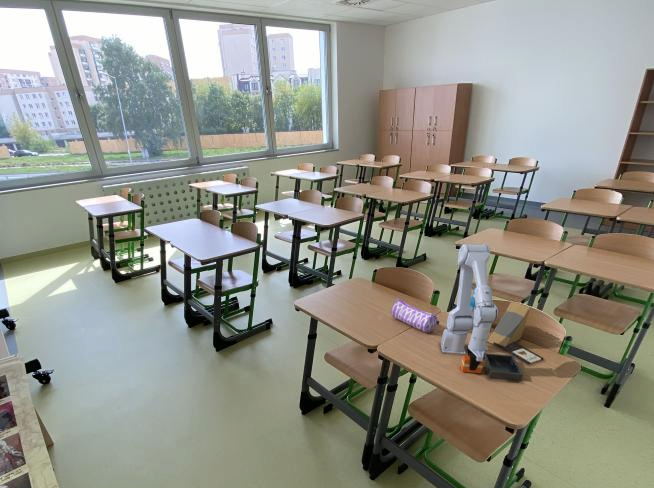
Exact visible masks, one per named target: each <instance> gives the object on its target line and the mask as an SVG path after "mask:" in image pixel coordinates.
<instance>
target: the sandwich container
mask: <svg viewBox="0 0 654 488" xmlns="http://www.w3.org/2000/svg"><path fill="white" fill-rule="evenodd" d="M530 310H531V307H530V306H527V305H524V304H521V303H518V302H515V301H511V302H510V303H509V305H508V306H507V309H506V310H505V312H504V313H503V315H502V317H501V318H500V320H499V321H498V323H497V325H496V326H495V328H494V330H493V331H492V333H491V334H490V336H488V339H487V343H490V344H492V345H493V343H494V342H495V343H497V344H500V345H502V346H507V345H509V344H511V343H512V342H515V343H516V342H518V340H520V339H521V338H522V336H523V332H524V329H525V326H526V323H527V320H528V317H529V314H530Z"/></svg>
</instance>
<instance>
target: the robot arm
mask: <svg viewBox="0 0 654 488" xmlns="http://www.w3.org/2000/svg"><path fill="white" fill-rule="evenodd" d="M457 254H458V255H457V266H458V267H460V271H459V281H458V290H457V300H456V307H455V308H453V309H451V310H450V311H449V312H448V316H447V319H446V328H444V329H443V332H442V336H441V340H440V347H441V351H442V353H445V354H446V353H449V354H450V353H451V354H462V355H466V354H467V356H469V357H470V365H469V369H470V370H473V371H475V370H476V369H477V367H478V365H479V364H480V363H481V362H482V361H483V360H484V359H485V356H484V355H483V354H484V353H486V352H485V351H489V347H488V346H487V344H488V342H487V340H488V339H489V337H490V336H489V335H490V332H491V328H492V325H493V323H495V322H496V321H497V320H498V316H499V309H498V306H497V305H496V303H495V302H494V300H493V292H492V287H490V286H489V285H488V274H487V273H488V272H487V263H488V262H489V260H490V258H491V257H490V256H491V247H490V245H489V244H487V243H485V244H462V245H461V246H460V248H459V249H458V253H457ZM474 281H475V285H476V286H477V287H476V286H475V287H476V289H475V290H474V289H473V283H474ZM472 291H474V295H475V303H476V309H475V310H474V312H473V311H471V310H470V309H469V308H470V299H471V298H472ZM474 295H473V296H474ZM471 330H473V331H472V332H471ZM470 332H471V335H470V338H469V342H468V344H467V345H466V342H467V338H468V334H470ZM465 346H466V349H465Z"/></svg>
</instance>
